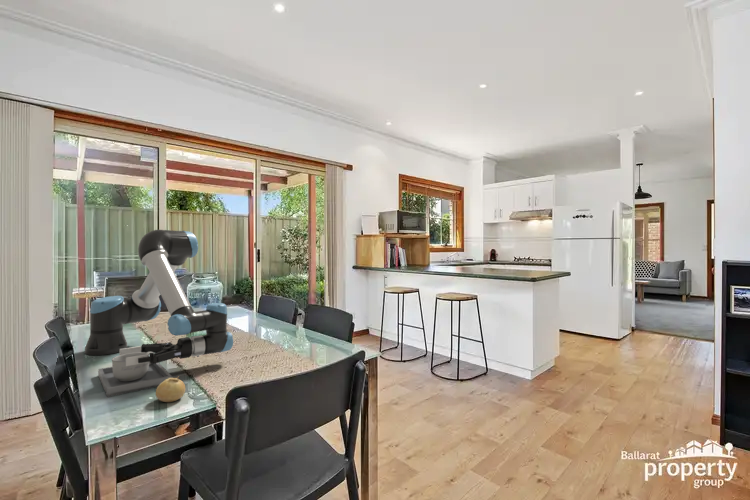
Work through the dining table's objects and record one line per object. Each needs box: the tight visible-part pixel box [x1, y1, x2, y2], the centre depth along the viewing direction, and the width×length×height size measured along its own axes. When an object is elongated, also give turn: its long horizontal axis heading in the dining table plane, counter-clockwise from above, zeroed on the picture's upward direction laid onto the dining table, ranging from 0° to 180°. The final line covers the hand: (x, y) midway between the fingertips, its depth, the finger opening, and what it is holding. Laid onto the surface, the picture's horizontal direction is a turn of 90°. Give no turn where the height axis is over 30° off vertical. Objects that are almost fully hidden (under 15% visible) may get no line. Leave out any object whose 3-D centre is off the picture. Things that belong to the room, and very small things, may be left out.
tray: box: [97, 362, 173, 398], centre depth 130 cm, size 24×18×2 cm
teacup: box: [111, 352, 154, 382], centre depth 129 cm, size 14×11×8 cm
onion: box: [155, 376, 186, 403], centre depth 114 cm, size 8×8×7 cm
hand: (122, 357), depth 127 cm, fingers open, 12 cm apart
